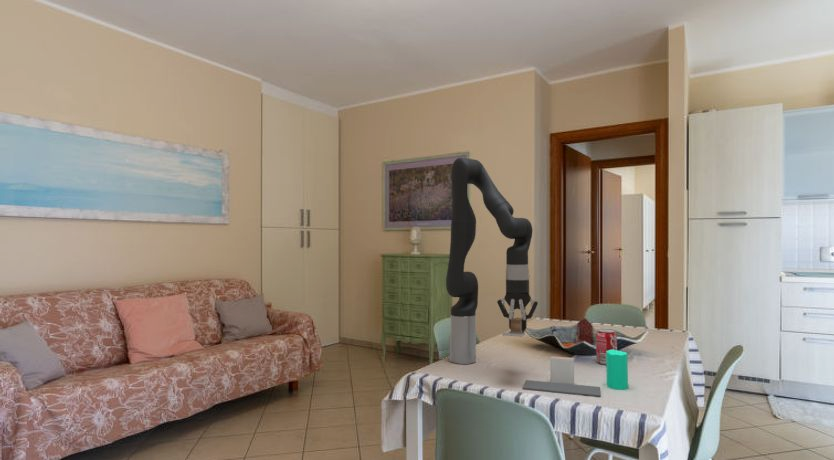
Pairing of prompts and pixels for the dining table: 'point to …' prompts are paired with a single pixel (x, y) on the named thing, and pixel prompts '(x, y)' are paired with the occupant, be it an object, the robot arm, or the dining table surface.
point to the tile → (562, 370)
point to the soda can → (605, 343)
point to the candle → (617, 369)
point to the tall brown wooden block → (515, 328)
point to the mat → (562, 388)
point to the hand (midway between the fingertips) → (517, 330)
